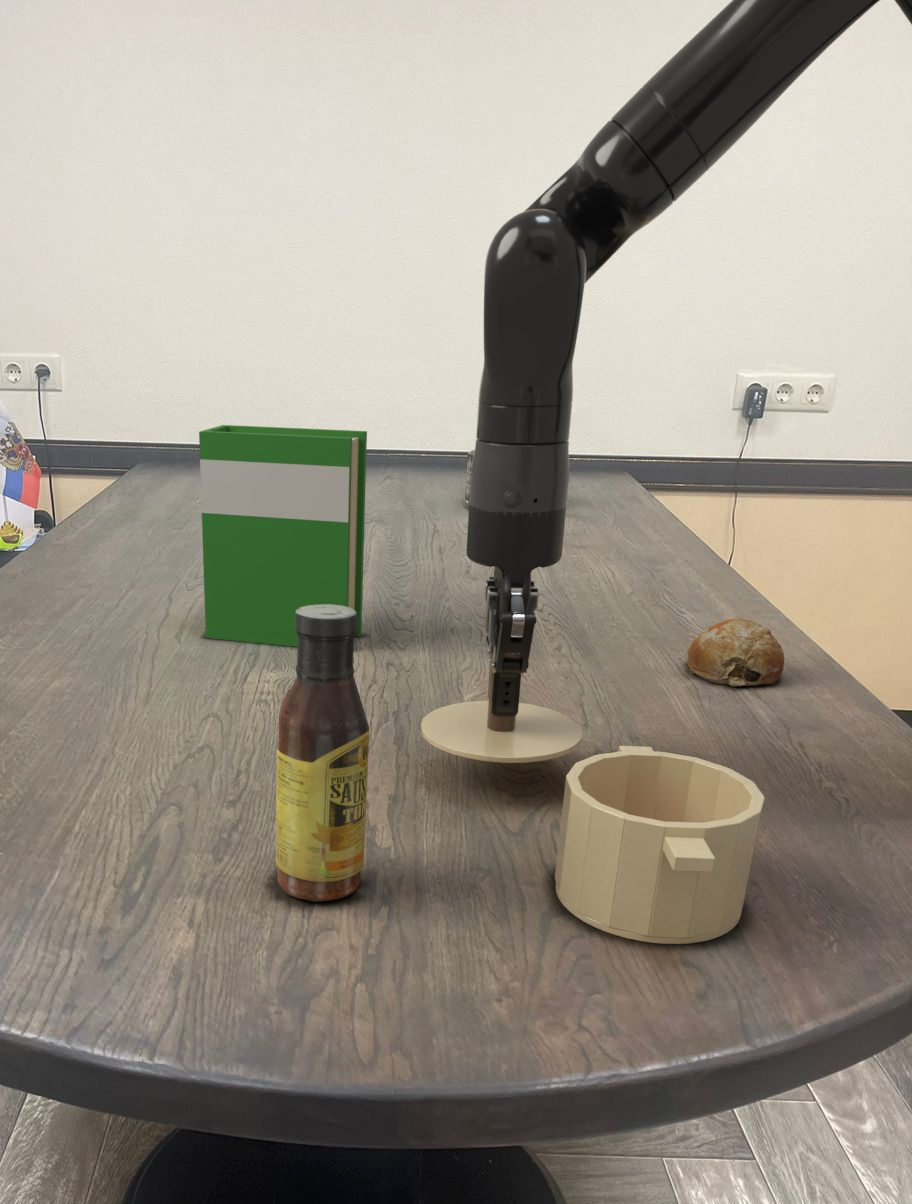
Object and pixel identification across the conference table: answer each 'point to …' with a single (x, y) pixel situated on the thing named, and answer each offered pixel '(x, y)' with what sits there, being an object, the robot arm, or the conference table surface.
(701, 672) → the bread roll
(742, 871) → the pot
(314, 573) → the hardback book
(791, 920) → the conference table surface
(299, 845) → the sauce bottle
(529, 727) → the lid
